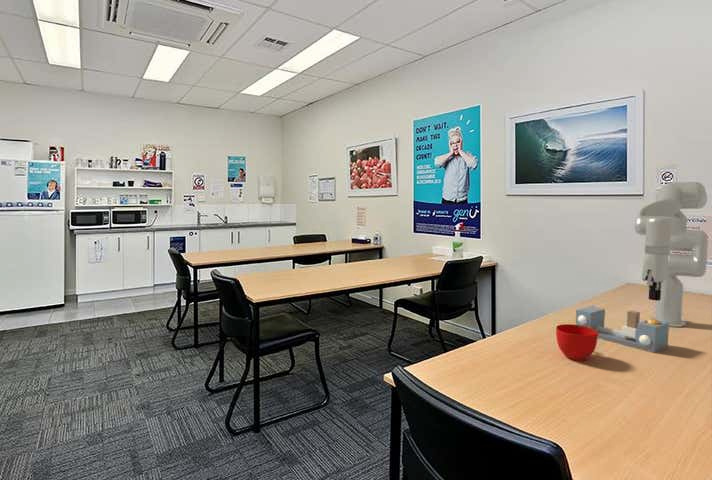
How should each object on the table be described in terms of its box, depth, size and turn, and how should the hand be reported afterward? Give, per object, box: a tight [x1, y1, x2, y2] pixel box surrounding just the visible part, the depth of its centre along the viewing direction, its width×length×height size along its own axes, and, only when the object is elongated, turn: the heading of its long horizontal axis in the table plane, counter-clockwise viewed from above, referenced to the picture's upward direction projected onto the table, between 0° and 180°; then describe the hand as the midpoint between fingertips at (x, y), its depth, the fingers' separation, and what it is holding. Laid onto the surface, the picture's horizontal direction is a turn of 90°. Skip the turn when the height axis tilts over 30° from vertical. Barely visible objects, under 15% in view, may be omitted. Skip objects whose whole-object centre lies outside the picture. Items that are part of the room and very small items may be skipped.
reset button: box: [647, 318, 659, 325], centre depth 151 cm, size 4×4×3 cm
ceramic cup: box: [555, 323, 599, 362], centre depth 145 cm, size 13×17×10 cm
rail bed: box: [575, 305, 670, 354], centre depth 161 cm, size 12×29×10 cm, turn 32°
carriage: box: [620, 310, 641, 340], centre depth 157 cm, size 7×5×10 cm
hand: (654, 299), depth 150 cm, fingers closed
